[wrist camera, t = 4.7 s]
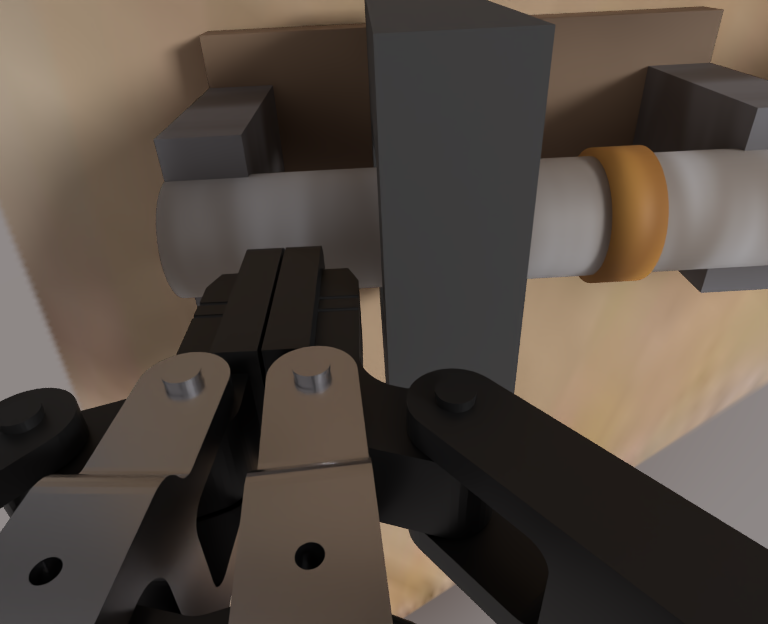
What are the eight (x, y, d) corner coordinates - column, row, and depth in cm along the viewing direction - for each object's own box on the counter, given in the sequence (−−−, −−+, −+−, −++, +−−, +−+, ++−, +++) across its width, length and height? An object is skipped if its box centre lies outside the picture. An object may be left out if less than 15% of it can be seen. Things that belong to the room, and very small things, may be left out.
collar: (364, -10, 16) (373, 33, 7) (449, -14, 16) (555, 24, 7) (379, 295, 21) (395, 521, 13) (443, 291, 21) (500, 514, 13)
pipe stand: (208, 31, 18) (105, 84, 11) (703, 6, 18) (938, 42, 11) (250, 254, 22) (198, 402, 15) (649, 233, 22) (791, 368, 15)
